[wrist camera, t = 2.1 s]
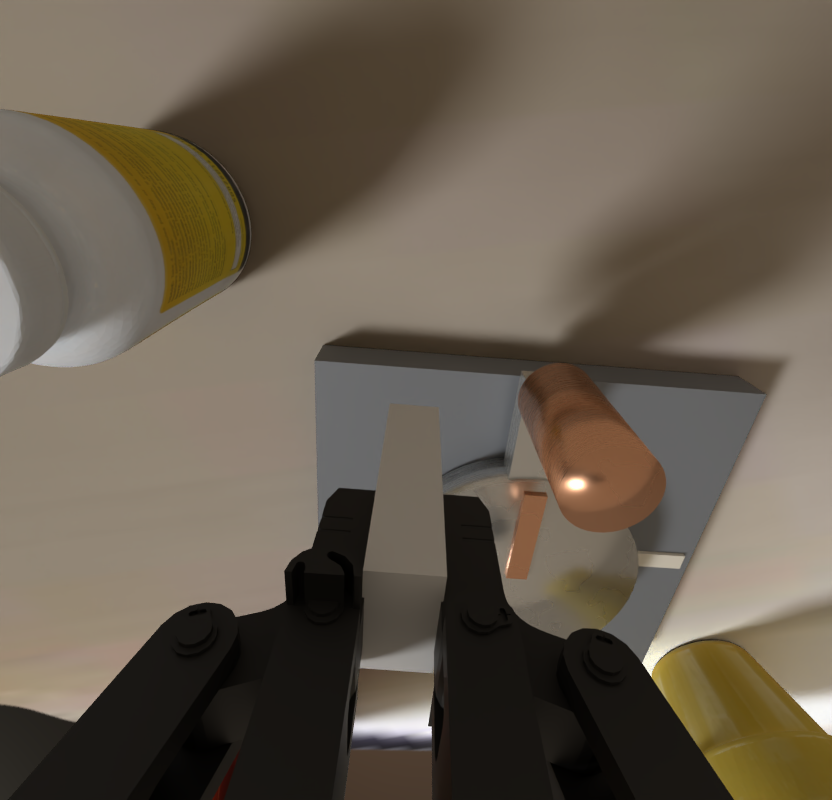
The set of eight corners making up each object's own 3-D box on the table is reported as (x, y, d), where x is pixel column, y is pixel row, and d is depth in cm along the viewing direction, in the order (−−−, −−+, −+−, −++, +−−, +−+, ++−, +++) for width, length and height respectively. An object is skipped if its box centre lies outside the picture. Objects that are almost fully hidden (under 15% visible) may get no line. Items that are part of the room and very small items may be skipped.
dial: (590, 633, 27) (648, 792, 20) (388, 621, 27) (376, 778, 20) (692, 357, 19) (844, 462, 12) (409, 336, 19) (402, 431, 12)
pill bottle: (194, 99, 17) (-143, -7, 7) (285, 259, 20) (139, 356, 10) (64, 179, 19) (-386, 190, 8) (165, 320, 21) (-79, 464, 11)
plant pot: (742, 717, 35) (851, 902, 26) (607, 709, 34) (671, 894, 26) (805, 624, 30) (964, 811, 21) (649, 614, 30) (745, 800, 21)
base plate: (327, 629, 31) (320, 660, 29) (323, 344, 22) (313, 362, 20) (623, 647, 31) (637, 679, 29) (738, 376, 22) (769, 396, 20)
